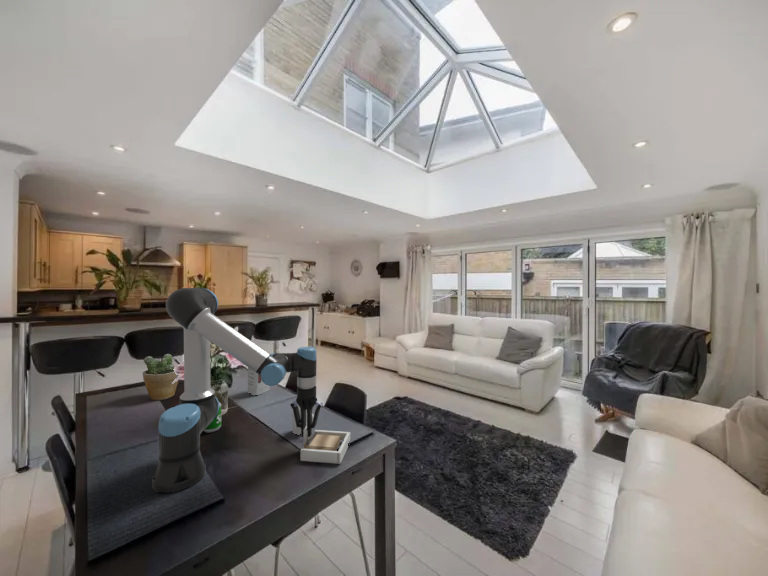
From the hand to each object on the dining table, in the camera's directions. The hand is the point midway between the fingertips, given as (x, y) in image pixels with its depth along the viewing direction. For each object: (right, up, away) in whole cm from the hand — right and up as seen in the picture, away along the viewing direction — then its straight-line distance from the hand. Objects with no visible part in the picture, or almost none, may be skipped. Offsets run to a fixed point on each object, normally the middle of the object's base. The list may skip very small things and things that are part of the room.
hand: (306, 444), depth 124 cm
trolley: (+7, -2, -1) cm, 7 cm away
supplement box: (-45, -1, +64) cm, 78 cm away
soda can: (-47, -2, +16) cm, 50 cm away
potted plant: (-98, -1, +56) cm, 113 cm away
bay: (+9, -2, -1) cm, 9 cm away
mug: (-4, -2, +14) cm, 15 cm away
